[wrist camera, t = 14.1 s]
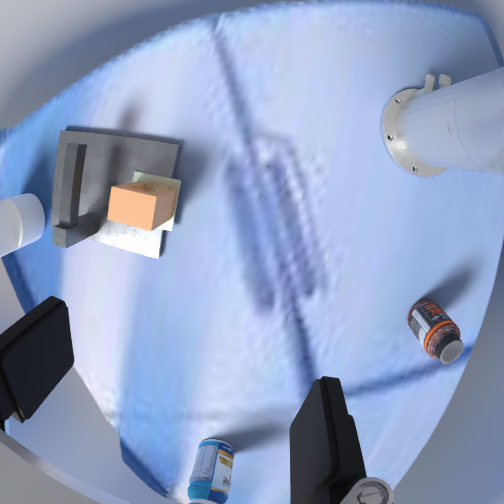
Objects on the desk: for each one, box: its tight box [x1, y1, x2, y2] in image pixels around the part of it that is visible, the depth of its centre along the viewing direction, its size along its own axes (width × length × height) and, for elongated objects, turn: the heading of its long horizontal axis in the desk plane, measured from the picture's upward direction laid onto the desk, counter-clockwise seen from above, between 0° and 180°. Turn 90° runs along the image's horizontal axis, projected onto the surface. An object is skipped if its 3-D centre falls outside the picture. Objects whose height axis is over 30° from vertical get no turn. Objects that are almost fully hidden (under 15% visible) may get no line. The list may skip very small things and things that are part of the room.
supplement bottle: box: [408, 299, 463, 364], centre depth 35 cm, size 6×6×11 cm
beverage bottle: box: [188, 439, 235, 504], centre depth 45 cm, size 8×8×20 cm
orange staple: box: [107, 182, 176, 231], centre depth 34 cm, size 4×6×7 cm, turn 76°
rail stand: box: [51, 130, 182, 259], centre depth 34 cm, size 16×22×9 cm
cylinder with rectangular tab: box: [0, 193, 45, 257], centre depth 35 cm, size 9×9×12 cm
